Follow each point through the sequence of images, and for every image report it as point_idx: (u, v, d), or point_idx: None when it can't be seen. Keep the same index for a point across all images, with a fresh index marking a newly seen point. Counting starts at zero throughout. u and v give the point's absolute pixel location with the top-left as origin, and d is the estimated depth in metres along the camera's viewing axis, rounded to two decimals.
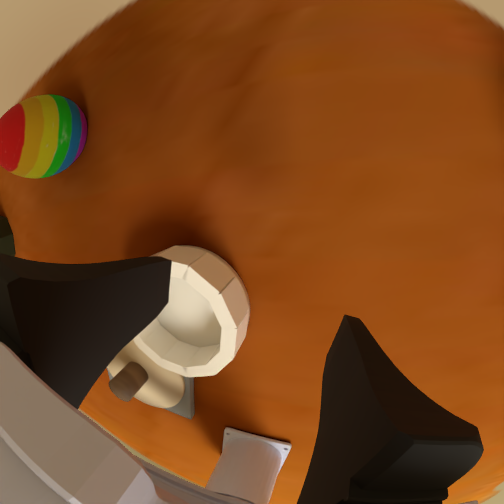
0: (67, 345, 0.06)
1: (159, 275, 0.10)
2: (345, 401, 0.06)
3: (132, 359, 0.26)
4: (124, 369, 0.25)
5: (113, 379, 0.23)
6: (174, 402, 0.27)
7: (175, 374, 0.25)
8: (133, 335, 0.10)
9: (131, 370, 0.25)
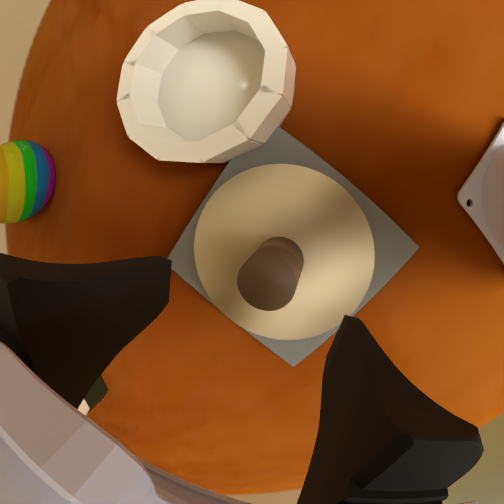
0: (67, 345, 0.06)
1: (159, 275, 0.10)
2: (345, 401, 0.06)
3: (253, 246, 0.17)
4: None
5: None
6: (366, 232, 0.15)
7: (303, 170, 0.15)
8: (133, 335, 0.10)
9: (258, 247, 0.15)
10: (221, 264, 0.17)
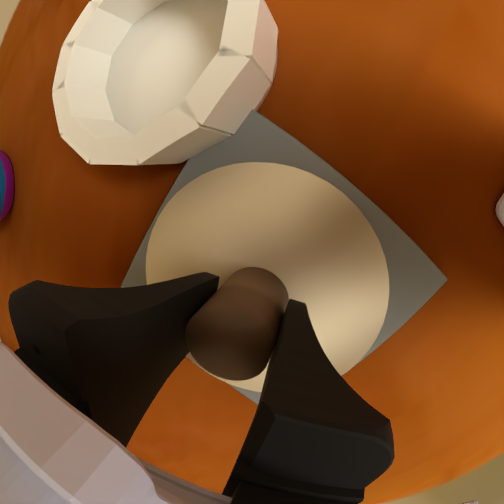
0: (124, 382, 0.06)
1: (209, 293, 0.10)
2: (267, 380, 0.07)
3: (219, 279, 0.12)
4: None
5: None
6: (379, 262, 0.10)
7: (287, 171, 0.10)
8: (181, 358, 0.09)
9: (222, 285, 0.10)
10: None
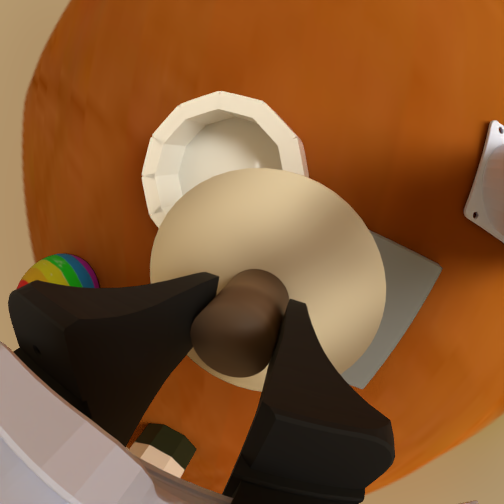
0: (124, 382, 0.06)
1: (208, 293, 0.10)
2: (268, 380, 0.07)
3: (221, 283, 0.12)
4: None
5: None
6: (374, 257, 0.10)
7: (279, 175, 0.10)
8: (181, 358, 0.09)
9: (224, 287, 0.11)
10: None
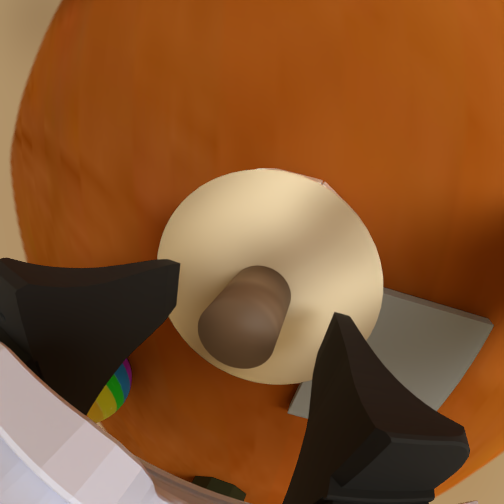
0: (76, 352, 0.06)
1: (168, 278, 0.10)
2: (331, 398, 0.06)
3: (225, 280, 0.13)
4: None
5: None
6: (370, 251, 0.11)
7: (277, 175, 0.11)
8: (141, 339, 0.10)
9: None
10: (191, 302, 0.14)
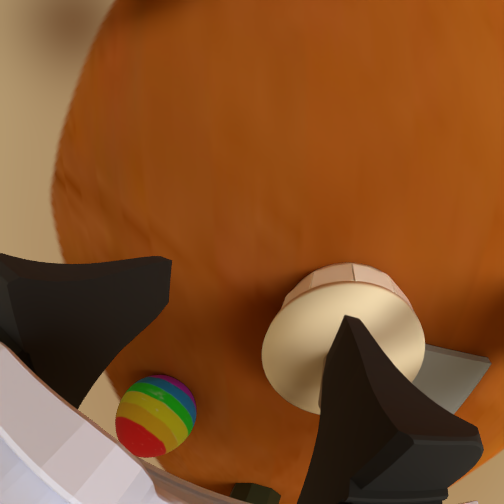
0: (67, 345, 0.06)
1: (159, 275, 0.10)
2: (345, 401, 0.06)
3: (320, 355, 0.17)
4: (322, 374, 0.15)
5: (319, 396, 0.14)
6: (420, 336, 0.14)
7: (370, 291, 0.15)
8: (133, 335, 0.10)
9: None
10: (289, 368, 0.18)
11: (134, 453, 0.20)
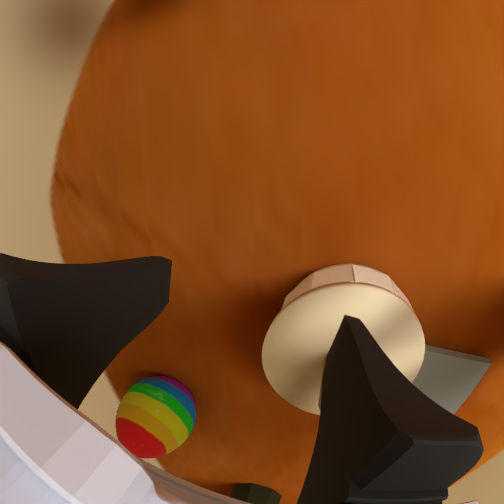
0: (67, 345, 0.06)
1: (159, 275, 0.10)
2: (345, 401, 0.06)
3: (320, 355, 0.17)
4: (322, 375, 0.15)
5: (319, 397, 0.14)
6: (420, 337, 0.14)
7: (370, 292, 0.15)
8: (133, 335, 0.10)
9: None
10: (289, 369, 0.18)
11: (135, 454, 0.20)
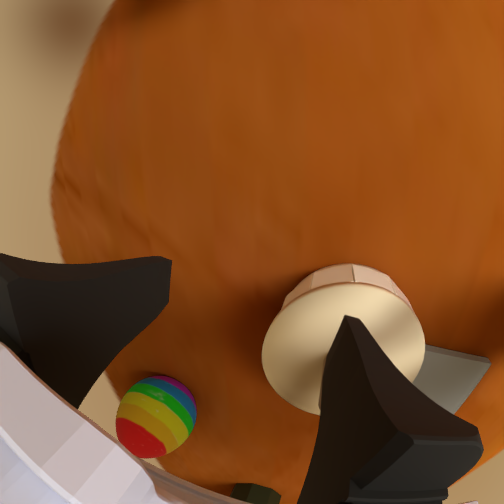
0: (67, 345, 0.06)
1: (159, 275, 0.10)
2: (345, 401, 0.06)
3: (320, 355, 0.17)
4: (322, 375, 0.15)
5: (319, 397, 0.14)
6: (420, 337, 0.14)
7: (370, 292, 0.15)
8: (133, 335, 0.10)
9: None
10: (289, 369, 0.18)
11: (135, 454, 0.20)
